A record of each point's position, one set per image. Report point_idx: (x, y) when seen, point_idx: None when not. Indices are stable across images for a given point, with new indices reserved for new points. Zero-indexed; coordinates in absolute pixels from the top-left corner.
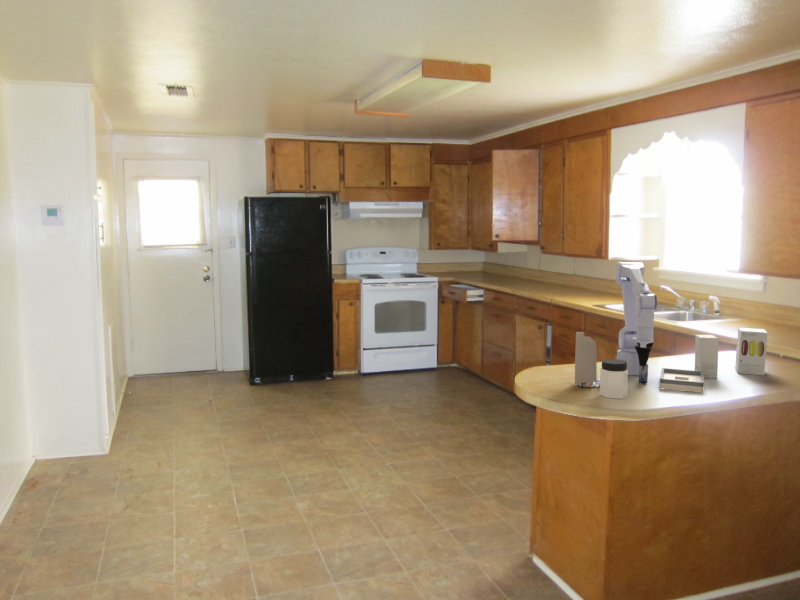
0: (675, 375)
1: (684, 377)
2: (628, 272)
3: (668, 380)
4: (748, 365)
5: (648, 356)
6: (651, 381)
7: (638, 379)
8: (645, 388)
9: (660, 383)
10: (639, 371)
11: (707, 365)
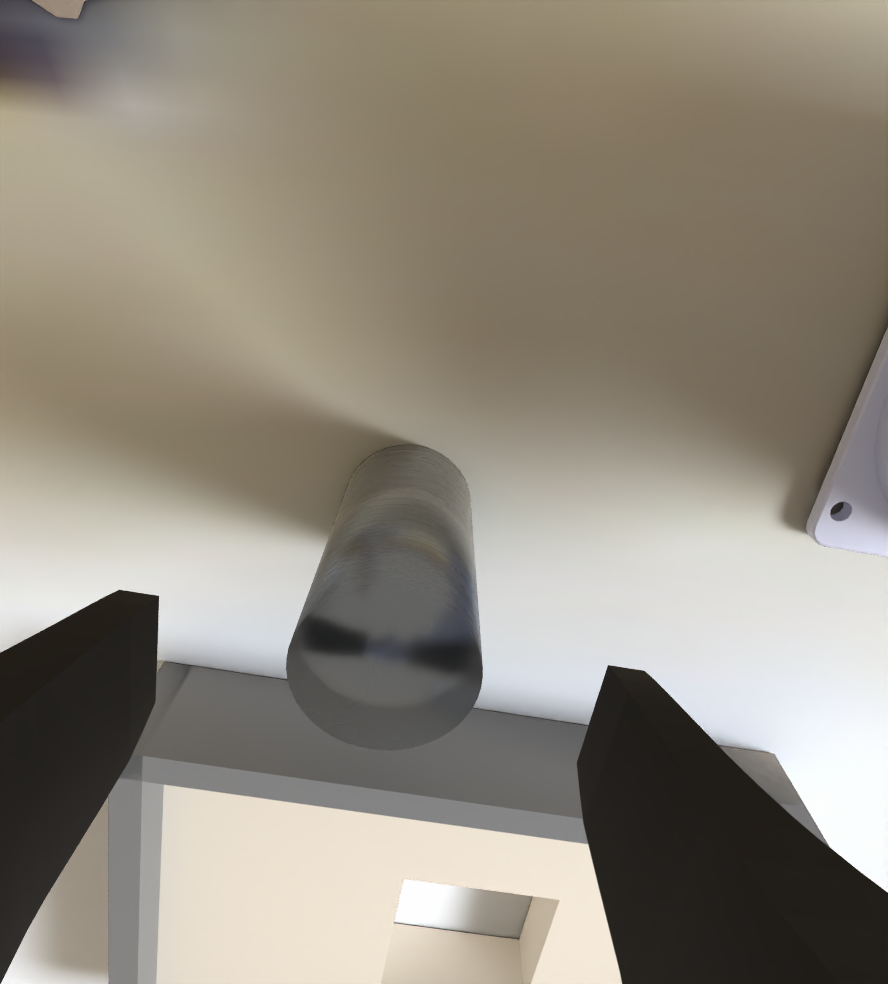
0: None
1: (535, 968)
2: None
3: (111, 827)
4: None
5: (599, 889)
6: (517, 617)
7: (389, 463)
8: (101, 504)
9: None
10: (351, 528)
11: None
